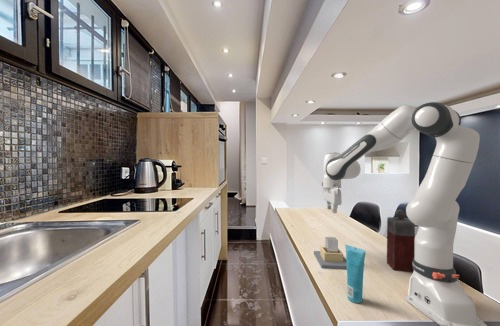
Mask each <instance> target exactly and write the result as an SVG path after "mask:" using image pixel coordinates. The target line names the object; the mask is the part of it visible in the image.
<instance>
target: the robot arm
mask: <svg viewBox="0 0 500 326" xmlns="http://www.w3.org/2000/svg"><path fill="white" fill-rule="evenodd" d="M461 124H462V119H461V116H460V114H459V113H458V112H457V111H456V110H455V109H453V108H452V107H451V106H449V105H446V104H444V103H441V102H436V101H434V102H433V101H432V102H425V103H423V104H420V105H419V106H418V107H415V106H412V105H407V104H405V105H401V106H399V107H398V108H396V109H394V110H393V111H392V112H391V113H389V114H388V115H387V116H386V117H384V119H382V120H381V121H380V122H379V123H378V124H376V126H375V127H374V128H372V129H371V130H370V131H369V132H367V133H366V134H365V135H363V136H362V137H361V138H360V139H358V140H357V141H356V142H355V143H353V144H352V145H350V146H349V147H348V148H347V149H345V151H343V152H342V153H340V152H330V153H326V154H325V155H324V158H323V161H322V162H323V164H322V170H323V171H322V172H323V177H322V182H321V186H322V195H323V199H324V201H325V202H326V209H327V210H332V214H337V213H338V208H339V206H341V205H342V203H343V202H342V201H343V200H342V190H341V188H342V180H348V179H349V180H350V179H355V178H357V177H358V176H359V175H360V174H361V164H360V163H359V160H360V159H361V158H362V157H363V156H366V155H368V154H370V153H373V152H378V151H384V150H389V149H391V148H392V147H394V146H396V145H398V144H399V143H401V141H403V140H404V139H405V138H406V137H408V136H409V135H410V134H411V133H413V132H416V131H418V132H420V133H422V134H424V135H427V136H428V137H431V138H435V141H436V146H435V148H434V152H433V154H432V157H431V159H430V161H429V162H430V163H429V165H428V169H427V171H426V173H425V175H424V178H423V179H422V181H421V183H420V185H419V186H418V187H417V190H416V191H415V193H414V195H413V197H412V199H411V200H410V201H409V202H408V203H407V205H406V207H405V213H406V217H407V219H408V220H410V221H411V222H412V223H414V224H415V226H418V228H417V232H416V233H415V246H414V258H413V269H414V271H413V272H412V274H411V275H410V277H409V282H408V291H407V294H406V295H405V296H404V300H405V301H406V302H407V303H409V304H410V305H412V306H413V307H414V308H416V309H417V310H419V311H420V312H421V313H422V314H424V315H425V316H426V317H428V318H429V319H431V320H432V321H433V322H434V323H436V324H437V325H439V326H488V325H487V324H486V323H485V321H483V320H482V319H480V317H479V316H478V315H477V309H476V305H475V303H474V300H473V297H471V295H468V294H467V292H466V291H465V289H464V288H463V287H462V285H461V284H460V283H459V282H458V280H459V279H460V274H457V272H456V269H455V267H454V243H455V237H456V231H457V226H458V219H459V213H460V205H459V203H458V202H457V198H458V197H459V195H460V193H461V192H462V190H463V189H464V188H465V186H466V184H467V181H468V178H469V177H470V174H471V171H472V170H473V169H472V168H473V166H474V164H475V162H476V158H477V155H478V151H479V146H480V137H481V136H480V133H479V132H478V131H476V130H475V129H473V128H471V127H466V126H461Z"/></svg>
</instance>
